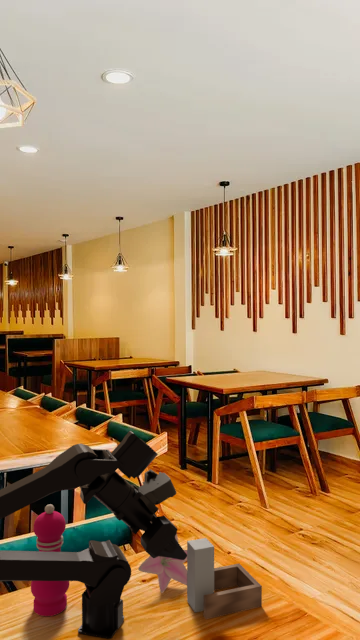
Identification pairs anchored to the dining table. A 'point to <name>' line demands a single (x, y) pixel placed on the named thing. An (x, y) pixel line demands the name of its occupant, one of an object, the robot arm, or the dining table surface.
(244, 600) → the bay
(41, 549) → the pepper mill
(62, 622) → the dining table surface
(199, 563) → the tall grey pillar block
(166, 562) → the lily
